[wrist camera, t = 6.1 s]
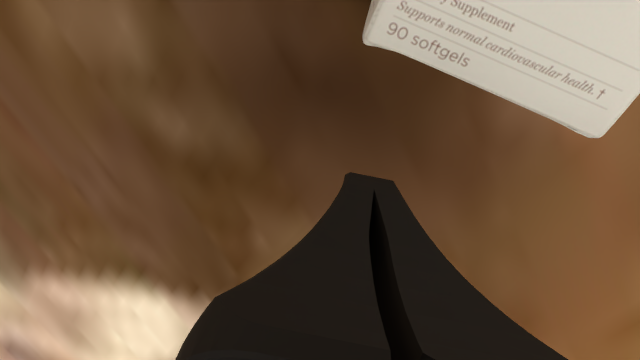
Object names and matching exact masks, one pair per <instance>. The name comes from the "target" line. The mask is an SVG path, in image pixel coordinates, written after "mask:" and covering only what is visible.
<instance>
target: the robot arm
mask: <svg viewBox="0 0 640 360" xmlns="http://www.w3.org/2000/svg"><path fill="white" fill-rule="evenodd" d="M176 360H568V359H566V358H565V357H563V356H562V355H560V354H559V353H557V352H556V351H555V350H553V349H552V348H550V347H549V346H547V345H546V344H544V343H543V342H541V341H540V340H538V339H537V338H535V337H534V336H532V335H531V334H530V333H528V332H527V331H526V330H525V329H523V328H522V327H521V326H519V325H518V324H517V323H515V322H514V321H513V320H511V319H510V318H509V317H508V316H506V315H505V314H504V313H503V312H502V311H500V310H499V309H498V308H497V307H495V306H494V305H493V304H492V303H491V302H490V301H489V300H487V299H486V298H485V297H484V296H483V295H482V294H481V293H480V292H479V291H478V290H476V289H475V288H474V287H473V286H472V285H471V284H470V283H469V282H468V281H467V280H466V279H465V278H464V277H463V276H462V275H461V274H460V273H459V272H458V271H457V270H456V269H455V267H454V266H453V265H452V264H451V263H450V262H449V261H448V260H447V259H446V258H445V256H444V255H443V254H442V253H441V252H440V251H439V249H438V248H437V247H436V245H435V244H434V243H433V242H432V240H431V239H430V238H429V236H428V235H427V234H426V232H425V231H424V230H423V228H422V227H421V225H420V224H419V222H418V221H417V219H416V218H415V216H414V215H413V213H412V212H411V210H410V208H409V207H408V205H407V203H406V202H405V200H404V198H403V197H402V195H401V193H400V192H399V190H398V188H397V187H396V185H395V183H394V182H393V181H391V180H386V179H381V178H376V177H371V176H366V175H361V174H356V173H351V172H350V173H348V174H346V175H345V178H344V182H343V186H342V188H341V190H340V192H339V194H338V195H337V197H336V198H335V200H334V201H333V203H332V205H331V206H330V208H329V209H328V210H327V212H326V213H325V214H324V215H323V217H322V218H321V219H320V220H319V222H318V223H317V224H316V225H315V226H314V227H313V229H312V230H311V231H310V232H309V233H308V234H307V235H306V236H305V237H304V238H303V239H302V240H301V241H300V242H299V243H298V244H297V245H295V246H294V247H293V248H292V249H291V250H290V251H288V252H287V253H286V254H285V255H284V256H282V257H281V258H280V259H279V260H277V261H276V262H275V263H273V264H272V265H270V266H269V267H267V268H266V269H264V270H263V271H261V272H260V273H258V274H257V275H255V276H254V277H252V278H250V279H249V280H247V281H245V282H244V283H242V284H240V285H238V286H236V287H234V288H232V289H230V290H228V291H227V292H225V293H223V294H221V295H219V296H217V297H215V298H214V299H213V301H212V302H211V303H210V304H209V306H208V307H207V308H206V309H205V311H204V312H203V313H202V315H201V316H200V318H199V319H198V320H197V322H196V323H195V325H194V326H193V328H192V329H191V331H190V333H189V334H188V336H187V338H186V339H185V341H184V343H183V345H182V347H181V349H180V351H179V353H178V355H177V358H176Z"/></svg>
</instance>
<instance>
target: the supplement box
mask: <svg viewBox="0 0 640 360" xmlns="http://www.w3.org/2000/svg"><path fill="white" fill-rule="evenodd" d="M363 43H364V44H366V45H369V46H376V47H380V48H383V49H387V50H392V51H395V52H398V53H400V54H403V55H405V56H408V57H410V58H412V59H415V60H417V61H419V62H422V63H424V64H426V65H428V66H431V67H433V68H435V69H438V70H440V71H442V72H444V73H447V74H449V75H451V76H454V77H456V78H458V79H460V80H463V81H465V82H467V83H469V84H472V85H474V86H476V87H479V88H481V89H483V90H485V91H488V92H490V93H492V94H495V95H497V96H499V97H501V98H504V99H506V100H508V101H510V102H513V103H515V104H517V105H519V106H522V107H524V108H526V109H528V110H531V111H533V112H535V113H537V114H540V115H542V116H544V117H547V118H549V119H551V120H553V121H555V122H557V123H559V124H561V125H563V126H565V127H567V128H569V129H571V130H573V131H575V132H577V133H579V134H581V135H584V136H586V137H588V138H600V137H602V136H603V135H604V134H605V133H606V132H607V131H608V130H609V129H610V127H611V126H612V125H613V124H614V123H615V122H616V121H617V119H618V118H619V117H620V116H621V115H622V114H623V112H624V111H625V110H626V109H627V108H628V107H629V105H630V104H631V103H632V102H633V101H634V99H635V98H636V97H637V96H638V95H639V93H640V0H372V1H371V4H370V8H369V12H368V15H367V19H366V22H365V26H364V31H363Z"/></svg>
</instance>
